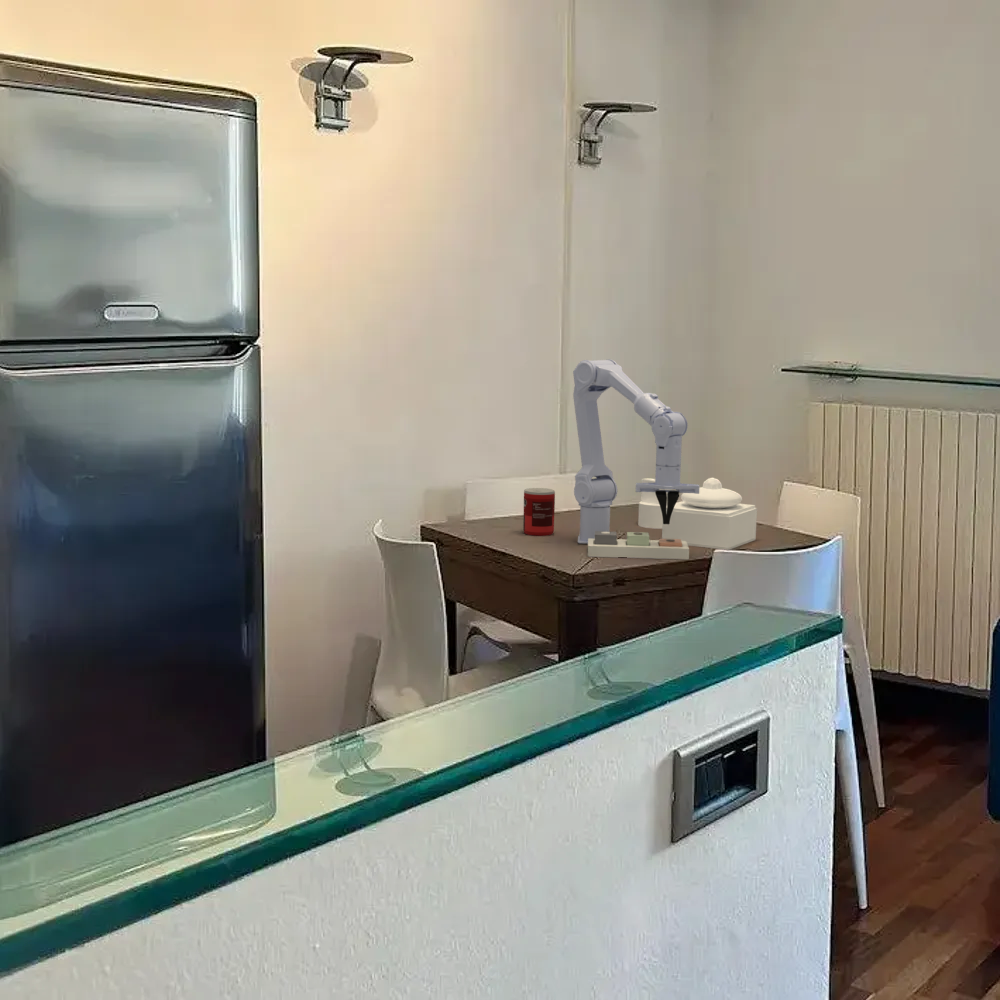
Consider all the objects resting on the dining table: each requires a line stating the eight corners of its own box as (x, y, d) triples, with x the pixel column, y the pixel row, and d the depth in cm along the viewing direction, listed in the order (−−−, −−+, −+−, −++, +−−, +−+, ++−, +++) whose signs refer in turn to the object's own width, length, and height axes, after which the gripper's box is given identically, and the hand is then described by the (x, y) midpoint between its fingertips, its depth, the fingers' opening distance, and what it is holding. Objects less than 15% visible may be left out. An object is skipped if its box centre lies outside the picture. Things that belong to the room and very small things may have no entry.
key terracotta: (658, 552, 320) (659, 537, 319) (680, 552, 319) (680, 538, 319) (659, 556, 315) (660, 541, 314) (681, 556, 314) (681, 542, 314)
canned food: (535, 529, 349) (536, 487, 348) (560, 533, 344) (561, 490, 343) (516, 533, 344) (517, 489, 342) (541, 537, 338) (542, 493, 337)
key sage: (626, 545, 320) (627, 531, 320) (648, 546, 320) (648, 531, 319) (627, 549, 315) (627, 534, 315) (648, 549, 315) (649, 535, 314)
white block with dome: (728, 550, 325) (731, 484, 323) (659, 542, 334) (661, 478, 332) (755, 540, 340) (758, 477, 337) (689, 533, 349) (691, 471, 347)
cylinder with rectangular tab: (631, 524, 360) (632, 479, 358) (656, 521, 365) (657, 477, 363) (654, 529, 352) (656, 483, 351) (679, 526, 358) (681, 481, 356)
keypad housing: (587, 548, 323) (588, 538, 323) (685, 551, 322) (686, 541, 321) (587, 556, 313) (588, 545, 313) (688, 559, 312) (689, 548, 312)
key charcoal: (594, 544, 321) (594, 530, 320) (615, 545, 320) (616, 530, 320) (594, 548, 316) (594, 533, 315) (616, 549, 315) (616, 534, 315)
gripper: (637, 466, 311) (635, 525, 313) (701, 468, 310) (699, 527, 312) (636, 462, 318) (634, 520, 320) (698, 464, 317) (696, 522, 319)
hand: (666, 523), depth 316 cm, fingers closed
